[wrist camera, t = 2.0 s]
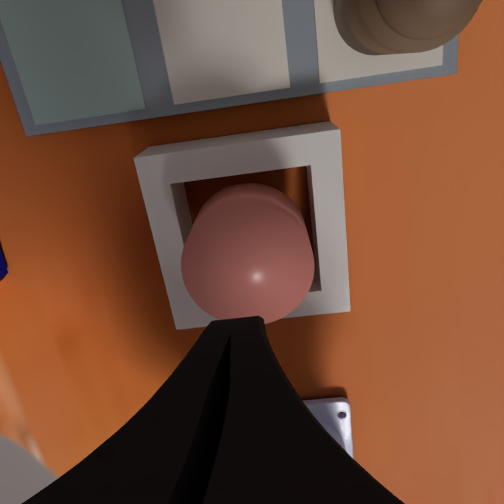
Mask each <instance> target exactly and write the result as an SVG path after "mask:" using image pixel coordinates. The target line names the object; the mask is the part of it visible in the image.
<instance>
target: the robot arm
mask: <svg viewBox="0 0 504 504" xmlns="http://www.w3.org/2000/svg"><path fill="white" fill-rule="evenodd" d="M339 412H344V413H341V414H340V413H339ZM22 504H404V503H403V502H402V501H401V500H399V499H398V498H397V497H396V496H394V495H393V494H392V493H391V492H390V491H389V490H387V489H386V488H385V487H384V486H383V485H381V484H380V483H379V482H378V481H377V480H376V479H374V478H373V477H372V476H371V475H370V474H369V473H368V472H367V471H366V470H365V469H364V468H363V467H361V466H360V465H359V464H358V463H357V462H356V461H355V460H354V458H353V442H352V426H351V410H350V404H349V401H348V400H347V399H346V398H344V397H336V398H325V399H314V400H303V401H302V400H301V398H300V397H299V395H298V394H297V392H296V391H295V389H294V388H293V386H292V385H291V383H290V381H289V380H288V378H287V377H286V375H285V373H284V372H283V370H282V368H281V366H280V364H279V362H278V360H277V358H276V356H275V354H274V352H273V350H272V348H271V346H270V343H269V341H268V338H267V335H266V330H265V323H264V319H263V318H262V317H260V316H250V317H241V318H232V319H223V320H213V321H211V322H210V323H209V324H208V326H207V327H206V328H205V330H204V331H203V333H202V334H201V336H200V337H199V338H198V340H197V341H196V343H195V344H194V345H193V347H192V348H191V349H190V351H189V352H188V354H187V355H186V356H185V358H184V359H183V360H182V361H181V363H180V364H179V365H178V367H177V368H176V369H175V370H174V372H173V373H172V374H171V375H170V377H169V378H168V379H167V380H166V381H165V383H164V384H163V385H162V386H161V387H160V388H159V389H158V391H157V392H156V393H155V394H154V395H153V396H152V398H151V399H150V400H149V401H148V402H147V403H146V404H145V405H144V406H143V407H142V408H141V409H140V410H139V411H138V412H137V413H136V414H135V415H134V416H133V417H132V418H131V419H130V420H129V421H128V422H127V423H126V424H125V425H124V426H122V427H121V428H120V429H119V430H118V431H117V432H116V433H115V434H113V435H112V436H111V437H110V438H109V439H107V440H106V441H105V442H104V443H103V444H101V445H100V446H99V447H98V448H97V449H95V450H94V451H93V452H92V453H91V454H89V455H88V456H87V457H86V458H85V459H83V460H82V461H81V462H80V463H78V464H77V465H76V466H74V467H73V468H72V469H70V470H69V471H68V472H66V473H65V474H64V475H62V476H61V477H60V478H58V479H57V480H55V481H54V482H53V483H52V484H50V485H48V486H47V487H46V488H44V489H43V490H41V491H40V492H38V493H37V494H35V495H34V496H33V497H31V498H30V499H28V500H26V501H25V502H24V503H22Z"/></svg>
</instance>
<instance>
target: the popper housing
mask: <svg viewBox="0 0 504 504" xmlns="http://www.w3.org/2000/svg"><path fill="white" fill-rule="evenodd" d="M133 159H134V163H135V167H136V171H137V175H138V179H139V183H140V187H141V191H142V195H143V199H144V203H145V207H146V211H147V215H148V219H149V223H150V227H151V231H152V235H153V239H154V243H155V247H156V251H157V255H158V259H159V263H160V267H161V271H162V275H163V279H164V283H165V287H166V291H167V295H168V299H169V303H170V307H171V311H172V315H173V319H174V323H175V327H176V330H179V329H189V328H198V327H207V326H208V324H209V323H210V322H211V321H213V320H219V319H216V318H214V317H213V316H211V315H209V314H208V313H206V312H205V311H204V310H202V309H201V308H200V307H199V306H198V305H197V304H196V303H195V301H194V300H193V299H192V298H191V296H190V295H189V293H188V291H187V289H186V287H185V285H184V282H183V278H182V273H181V256H182V251H183V248H184V245H185V243H186V240H187V238H188V236H189V233H190V231H191V229H192V226H193V225H192V220H191V215H190V211H189V206H188V201H187V196H186V191H185V187H184V182H188V181H195V180H203V179H210V178H218V177H225V176H233V175H240V174H248V173H255V172H263V171H270V170H278V169H285V168H293V167H300V166H306V170H307V181H308V192H309V203H310V214H311V225H312V236H313V248H314V259H315V266H314V277H313V281H312V285H311V287H310V289H309V292H308V293H307V295H306V297H305V298H304V300H303V301H302V302H301V303H300V304H299V306H297V307H296V308H295V309H294V310H293V311H292V312H290V313H289V314H288V315H286V316H284V317H283V318H292V317H301V316H310V315H320V314H329V313H338V312H348V311H350V295H349V278H348V260H347V242H346V224H345V207H344V189H343V171H342V153H341V136H340V129H339V128H338V127H337V126H336V125H335V124H333V123H332V122H331V121H327V122H320V123H312V124H305V125H298V126H291V127H284V128H277V129H270V130H263V131H256V132H249V133H242V134H234V135H227V136H220V137H213V138H206V139H199V140H192V141H185V142H178V143H171V144H164V145H157V146H149V147H148V148H146V149H145V150H144V151H142V152H141V153H139V154H138V155H137V156H135V157H134V158H133ZM281 319H282V318H281Z"/></svg>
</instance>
